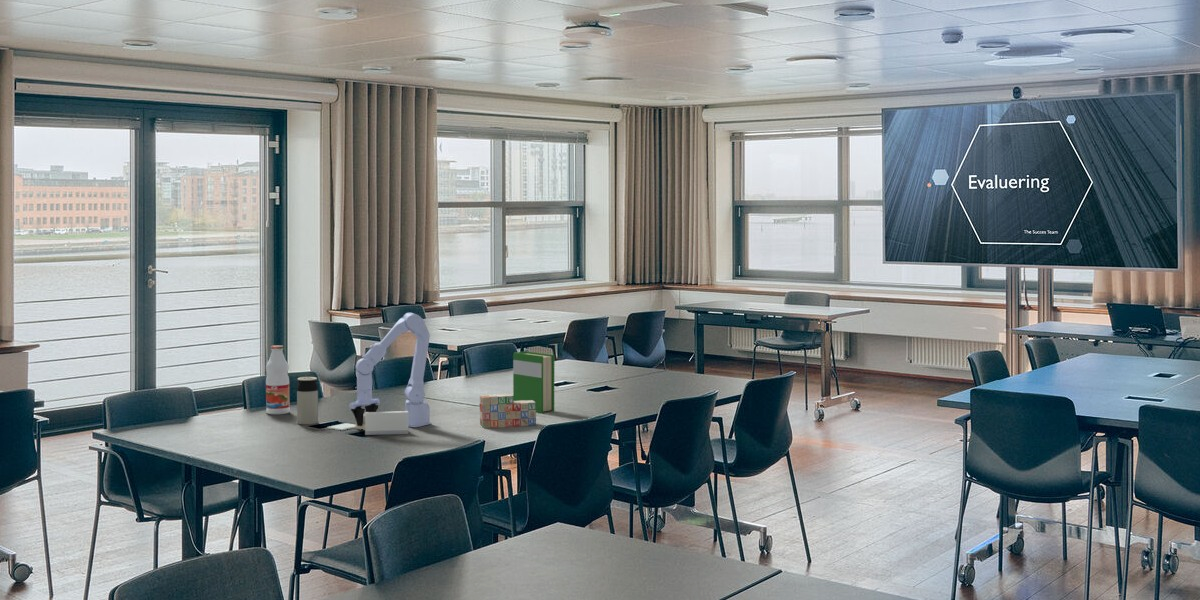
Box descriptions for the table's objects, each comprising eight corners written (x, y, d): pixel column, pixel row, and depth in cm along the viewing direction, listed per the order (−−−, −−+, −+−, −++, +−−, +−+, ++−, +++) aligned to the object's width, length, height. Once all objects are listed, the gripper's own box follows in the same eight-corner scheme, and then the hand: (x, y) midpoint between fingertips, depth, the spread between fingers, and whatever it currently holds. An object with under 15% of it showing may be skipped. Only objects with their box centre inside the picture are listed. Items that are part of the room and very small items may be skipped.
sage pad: (345, 424, 449) (345, 423, 449) (360, 426, 444) (360, 425, 444) (326, 428, 440) (326, 427, 440) (341, 430, 436) (341, 429, 436)
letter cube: (364, 426, 445) (364, 414, 444) (374, 428, 442) (374, 415, 442) (355, 428, 440) (355, 415, 440) (365, 430, 438) (365, 417, 437)
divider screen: (365, 434, 428) (365, 413, 427) (365, 432, 433) (365, 411, 432) (408, 433, 431) (408, 412, 430) (408, 431, 436) (408, 410, 435)
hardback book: (554, 411, 481) (554, 354, 480) (541, 413, 476) (541, 356, 474) (526, 406, 494) (526, 351, 492) (513, 408, 488) (513, 352, 487)
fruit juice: (293, 411, 479) (292, 344, 477) (284, 415, 469) (283, 347, 467) (272, 410, 480) (271, 344, 478) (262, 414, 471) (261, 346, 469)
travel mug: (312, 425, 447) (312, 379, 445) (293, 424, 448) (293, 379, 447) (321, 421, 454) (321, 377, 453) (303, 421, 456) (302, 376, 455)
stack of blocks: (532, 423, 455) (532, 392, 454) (536, 425, 449) (536, 394, 448) (479, 425, 449) (479, 394, 448) (482, 428, 443) (482, 396, 442)
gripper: (370, 386, 448) (370, 420, 449) (343, 391, 436) (343, 426, 437) (383, 388, 445) (383, 422, 446) (356, 392, 432) (357, 428, 433)
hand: (364, 424), depth 441 cm, fingers closed on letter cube, 5 cm apart
